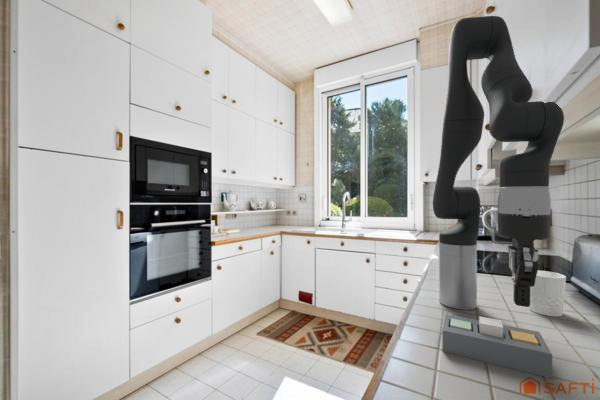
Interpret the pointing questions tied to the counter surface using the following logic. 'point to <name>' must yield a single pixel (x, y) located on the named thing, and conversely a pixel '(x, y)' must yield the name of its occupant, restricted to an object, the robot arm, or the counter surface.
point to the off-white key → (491, 327)
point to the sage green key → (460, 324)
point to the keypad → (498, 347)
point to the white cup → (548, 294)
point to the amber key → (523, 337)
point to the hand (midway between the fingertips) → (521, 304)
